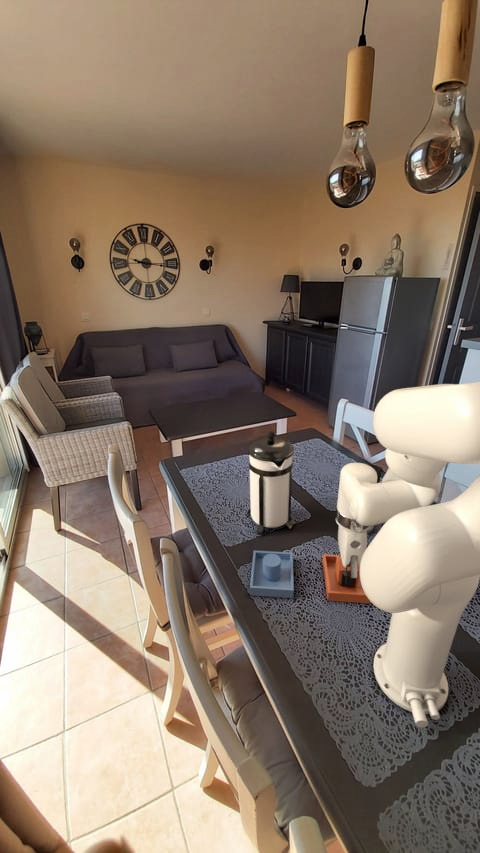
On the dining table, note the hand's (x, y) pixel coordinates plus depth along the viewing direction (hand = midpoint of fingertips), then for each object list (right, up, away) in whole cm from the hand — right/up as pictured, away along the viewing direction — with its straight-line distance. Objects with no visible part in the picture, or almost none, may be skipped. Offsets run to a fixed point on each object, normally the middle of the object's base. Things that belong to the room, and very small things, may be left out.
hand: (346, 576), depth 88 cm
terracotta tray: (0, -1, 0) cm, 1 cm away
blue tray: (-18, -1, +2) cm, 18 cm away
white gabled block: (+24, +12, +31) cm, 41 cm away
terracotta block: (0, 0, 0) cm, 0 cm away
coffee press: (-17, +8, +24) cm, 30 cm away
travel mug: (+10, +7, +19) cm, 22 cm away
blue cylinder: (-18, 0, +2) cm, 18 cm away
